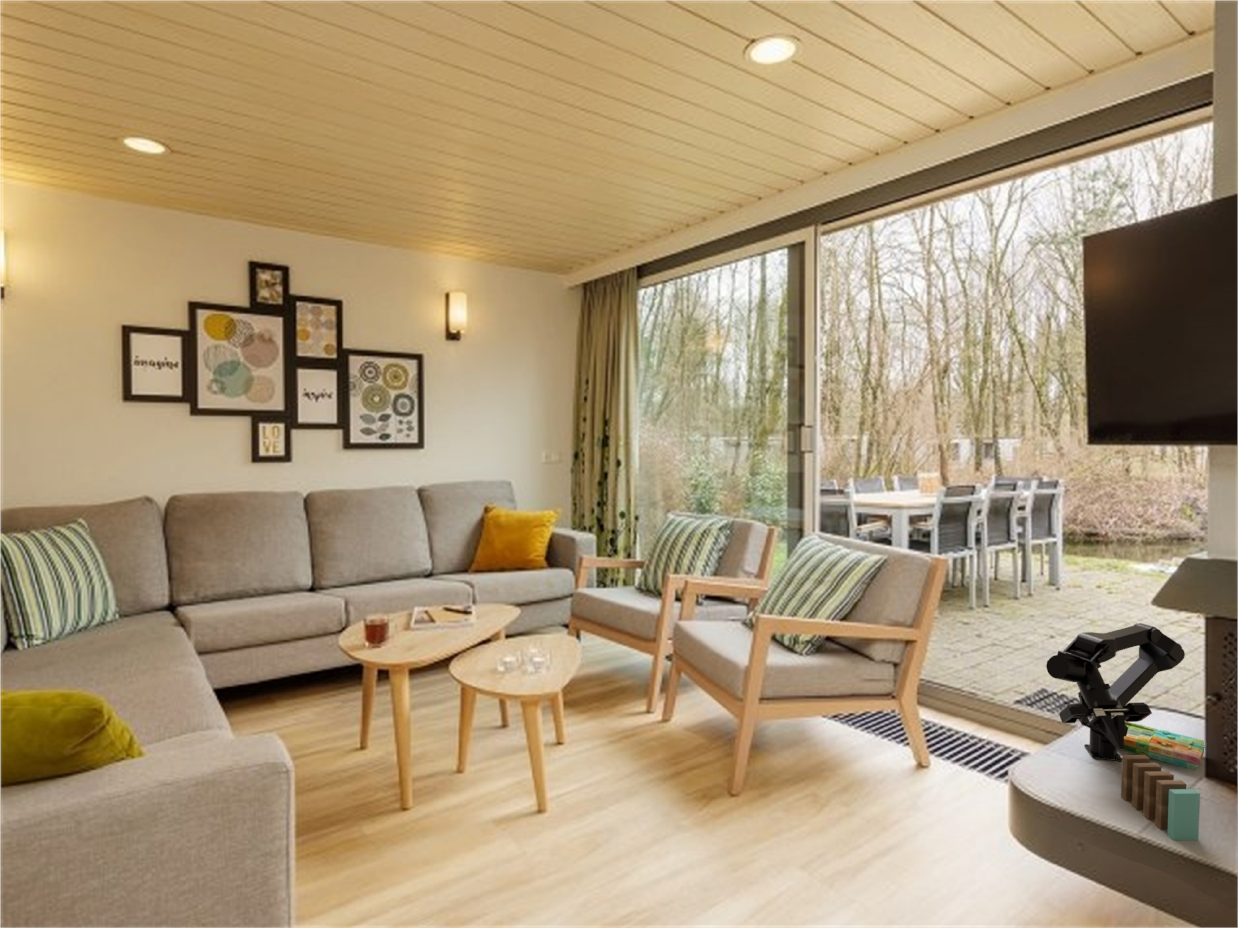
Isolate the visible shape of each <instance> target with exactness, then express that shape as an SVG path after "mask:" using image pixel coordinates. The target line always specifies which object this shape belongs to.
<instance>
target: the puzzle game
mask: <svg viewBox="0 0 1238 928" xmlns="http://www.w3.org/2000/svg"><path fill="white" fill-rule="evenodd" d="M1125 725H1126V726H1127V727H1128V732H1127V735H1126V736H1124V749H1123V750H1122V751H1124V752H1128V753H1131V754H1134V755H1146V756H1147V757H1149V758H1150V759H1153V760H1156V761H1161V762H1165V763H1168V764H1172V765H1175V766H1179V767H1183V768H1186V769H1190V770H1193V771H1194V770H1196V768H1197V767H1199V766H1200V765H1201V763H1202V760H1203V758H1204V757H1203V756H1204V754H1205V752H1204V748H1205V747H1204V746H1205V745H1204V741H1205V740H1203V739H1199V738H1197V737H1196V738H1195V737H1192V736H1187V735H1184V734H1179V733H1175V732H1170V731H1168V730H1162V729H1158V728H1156V727H1150V726H1145V725H1142V724H1137V723H1135V722H1126V721H1125Z"/></svg>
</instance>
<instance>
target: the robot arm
mask: <svg viewBox="0 0 1238 928" xmlns="http://www.w3.org/2000/svg"><path fill="white" fill-rule="evenodd" d="M1137 646H1138V658H1137V659H1136V660H1135V661H1134V662H1133V663H1132V664H1131V665H1130V666H1128V668H1127V669H1126V670H1125V671H1124V672H1123V673H1122V674H1121V675H1120V676H1119V677H1118V678H1117V679H1115V681H1113V683H1112V684H1111V685H1110V684H1109V683H1105V680H1104V679H1103V676H1102V674H1101V672H1100V670H1099V669H1100V668H1102V665H1101V664H1102V663H1105V662H1108V661H1109V660H1112V659H1113V658H1116V655H1117V652H1121V651H1124V650H1127V649H1130V648H1134V647H1137ZM1185 657H1186V654H1185V650H1184V649H1183V646H1182V645H1181V644H1180V643H1178V642H1176V640H1174V639H1172V638H1171V637H1169V636H1168V635H1166V634H1164V633H1163V632H1162V631H1161V630H1160V629H1159V628H1157V627H1155V626H1152V625H1149V624H1145V623H1142V622H1139V623H1137V622H1136V623H1134V624H1133V625H1131V626H1128V627H1122V628H1120V629H1116V630H1112V631H1109V632H1104V633H1102V632H1101V633H1100V632H1092V631H1090V632H1089V631H1088V632H1087V631H1086V632H1081V633H1078V634H1077V636H1076V637H1075V638H1074V639H1073V640H1072V641H1071V643H1069V644H1068V645H1067V647H1065V648H1064V649H1063V651H1062V650H1058V651H1057V654H1055V655H1052V656H1050V658H1049V659H1048V660H1047V662H1046V665H1045V666H1046V672H1047V673H1048V674H1049V675H1050V677H1051V678H1053V679H1056V680H1061V681H1066V682H1070V683H1076V685H1077V687H1078V689H1079V692H1077V694H1078V698H1079V702H1076V703H1067V704H1066V706H1065V707H1063V708H1062V709H1061V710H1060V711H1059V718H1060V721H1061V723H1062V724H1075V723H1076V722H1077V720H1078V721H1079V722H1080V724H1081V726H1085V727H1086V728H1089V744H1087V743H1085V744H1084V745H1083V747H1084V748H1085V749H1086V751H1087V752H1088V753H1089V755H1090V756H1091V757H1092V758H1093V759H1097V760H1098V759H1099V760H1100V759H1102V760H1111V761H1119V762H1120V761H1121V762H1122V755H1120V754H1119V752H1118V751H1124V750H1123V749H1124V736H1126V735H1127V732H1128V727H1127V726H1126V725H1125V722H1130V723H1137V722H1141V721H1143V720H1144V719H1146V718H1147V717H1149V716H1150V715H1152V714H1153V712H1152V710H1151V708H1150V706H1149V705H1148V704H1147V703H1145V702H1130V701H1131V700H1132V699H1133V698H1134V697H1135V696H1136V695H1137V694H1138V693H1139V692H1140V691H1141V690H1142V689H1143V688H1144V687H1145V686H1147V684H1148V683H1149V682H1150V681H1151V680H1152V679H1153V678H1154V677H1155V676H1156V675H1157V674H1158V673H1159V672H1165V671H1169V670H1170V671H1171V670H1172V669H1173V668H1176V667H1177V666H1178V665H1179V664H1181V663H1182V661H1183V660H1184V659H1185Z"/></svg>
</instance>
